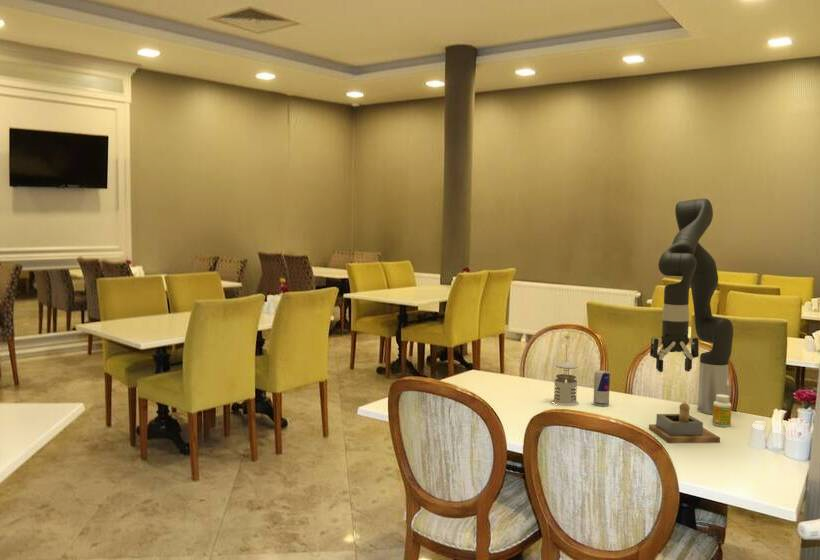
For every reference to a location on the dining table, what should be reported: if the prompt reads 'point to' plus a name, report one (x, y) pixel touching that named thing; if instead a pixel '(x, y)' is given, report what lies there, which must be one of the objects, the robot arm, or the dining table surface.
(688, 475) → the dining table surface
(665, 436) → the keeper board
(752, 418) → the dining table surface
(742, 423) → the dining table surface
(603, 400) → the energy drink
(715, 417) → the supplement bottle
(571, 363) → the french press
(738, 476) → the dining table surface
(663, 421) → the steel link
